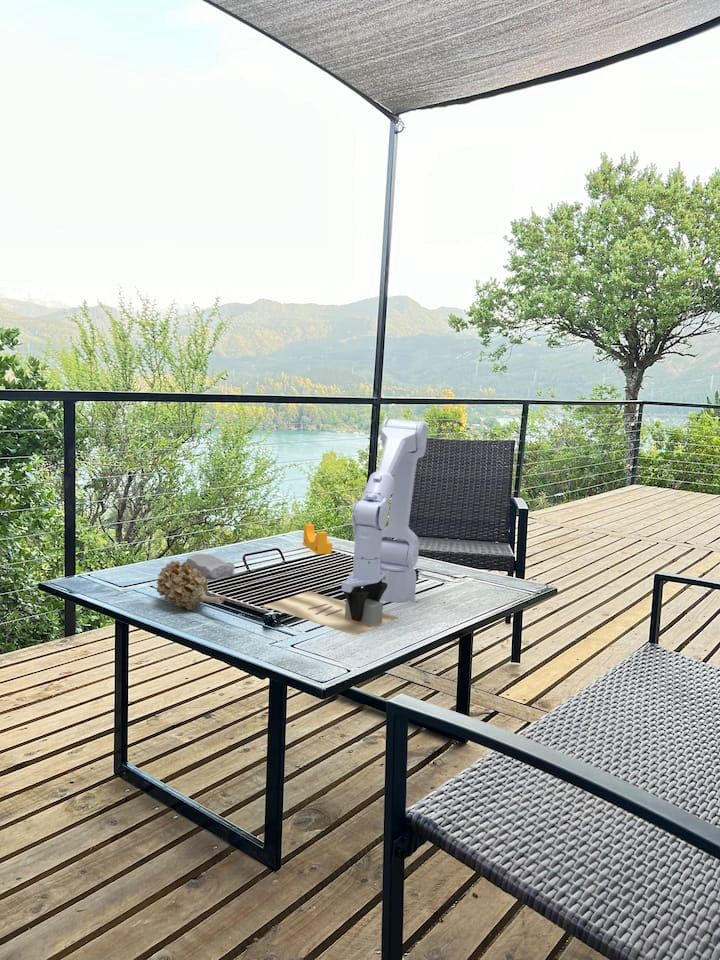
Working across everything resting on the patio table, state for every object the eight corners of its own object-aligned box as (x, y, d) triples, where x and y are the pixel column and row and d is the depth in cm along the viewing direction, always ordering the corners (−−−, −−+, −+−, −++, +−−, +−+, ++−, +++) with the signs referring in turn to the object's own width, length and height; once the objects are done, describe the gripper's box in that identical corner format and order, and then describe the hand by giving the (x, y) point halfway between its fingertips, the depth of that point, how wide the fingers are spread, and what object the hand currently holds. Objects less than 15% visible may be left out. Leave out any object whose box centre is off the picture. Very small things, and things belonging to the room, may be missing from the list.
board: (308, 597, 189) (308, 590, 189) (398, 623, 174) (398, 616, 174) (262, 612, 176) (262, 605, 176) (355, 642, 161) (356, 635, 161)
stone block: (212, 571, 213) (181, 569, 205) (216, 554, 213) (185, 551, 205) (238, 583, 205) (206, 582, 197) (242, 565, 204) (210, 563, 197)
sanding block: (355, 615, 173) (356, 595, 173) (381, 623, 169) (383, 603, 169) (344, 619, 170) (345, 599, 169) (371, 627, 166) (372, 607, 165)
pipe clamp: (331, 554, 232) (332, 532, 231) (317, 554, 230) (318, 533, 229) (316, 544, 242) (317, 523, 241) (303, 545, 240) (304, 524, 239)
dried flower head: (143, 603, 177) (143, 561, 175) (175, 594, 185) (176, 553, 183) (213, 627, 165) (215, 581, 163) (245, 616, 173) (246, 572, 171)
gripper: (371, 547, 175) (367, 605, 178) (331, 558, 164) (328, 620, 166) (397, 553, 171) (393, 612, 174) (358, 565, 160) (354, 628, 162)
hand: (363, 617), depth 170 cm, fingers open, 5 cm apart
